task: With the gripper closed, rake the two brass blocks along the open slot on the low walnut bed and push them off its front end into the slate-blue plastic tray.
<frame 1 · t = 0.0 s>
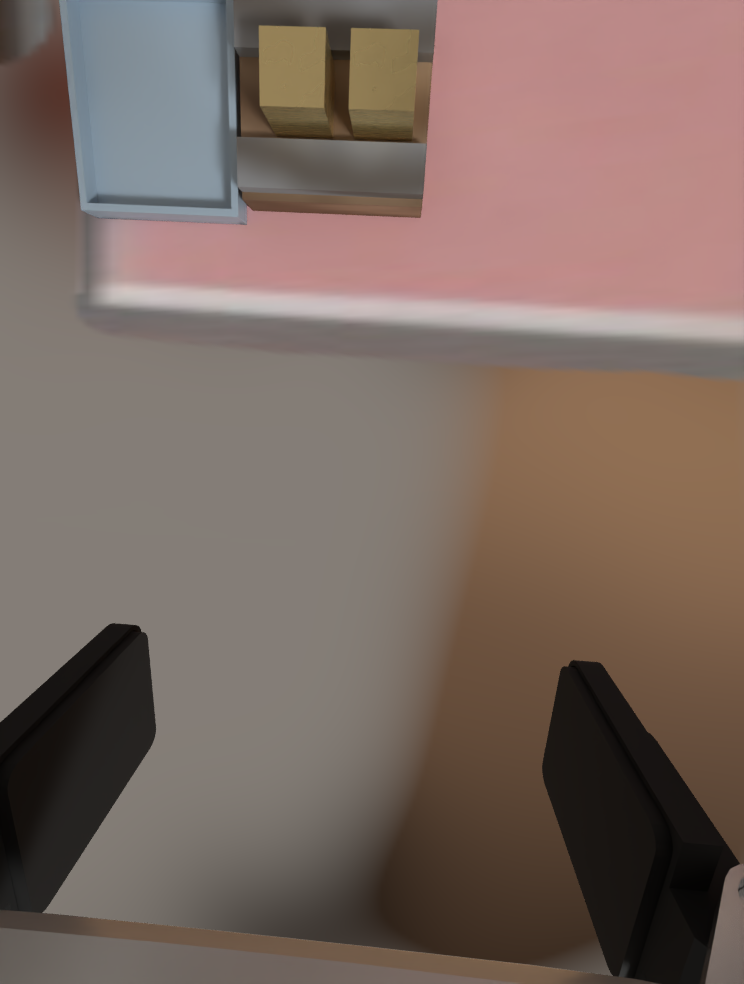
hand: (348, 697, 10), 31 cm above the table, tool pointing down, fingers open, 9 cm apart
slot bed: (338, 122, 34), on the table
tray: (165, 116, 34), on the table
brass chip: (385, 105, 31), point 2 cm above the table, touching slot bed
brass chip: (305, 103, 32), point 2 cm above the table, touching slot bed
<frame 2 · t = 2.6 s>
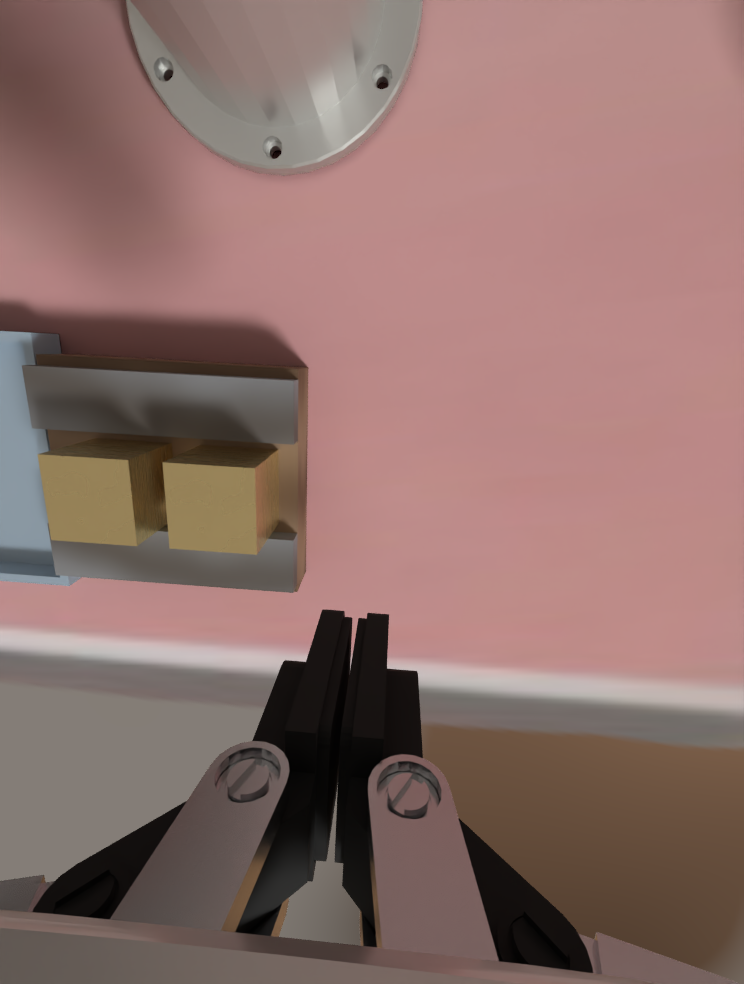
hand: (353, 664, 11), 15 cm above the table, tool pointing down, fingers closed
slot bed: (194, 468, 27), on the table
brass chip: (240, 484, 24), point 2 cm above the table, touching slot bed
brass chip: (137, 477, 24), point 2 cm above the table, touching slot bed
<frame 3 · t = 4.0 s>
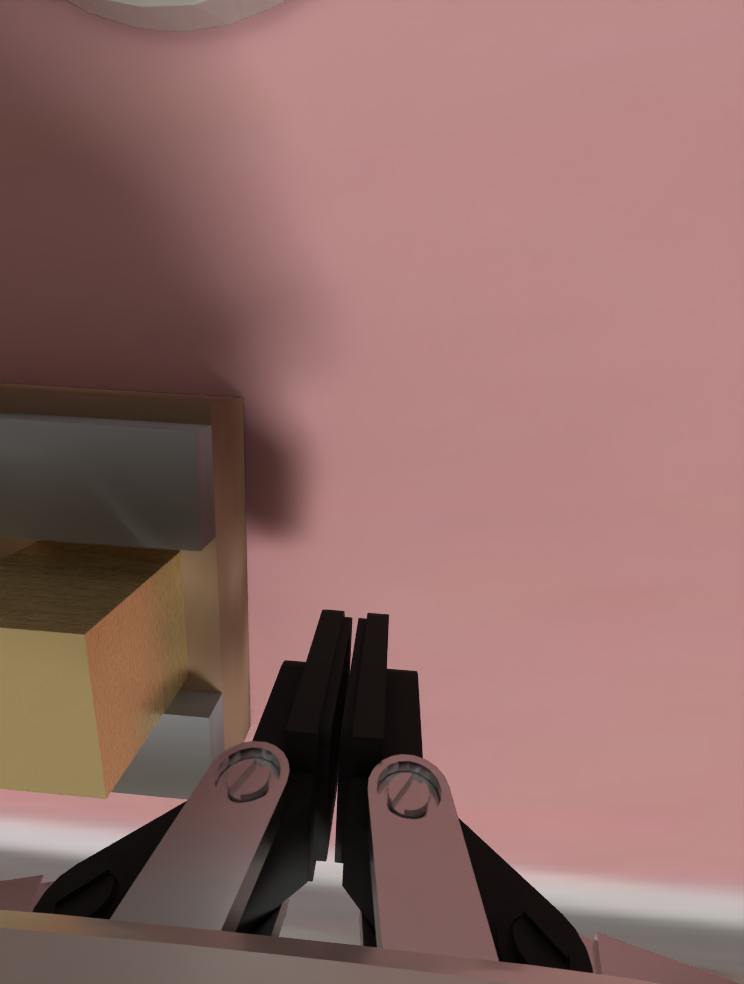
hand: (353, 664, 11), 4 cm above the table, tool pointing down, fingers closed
slot bed: (59, 564, 16), on the table
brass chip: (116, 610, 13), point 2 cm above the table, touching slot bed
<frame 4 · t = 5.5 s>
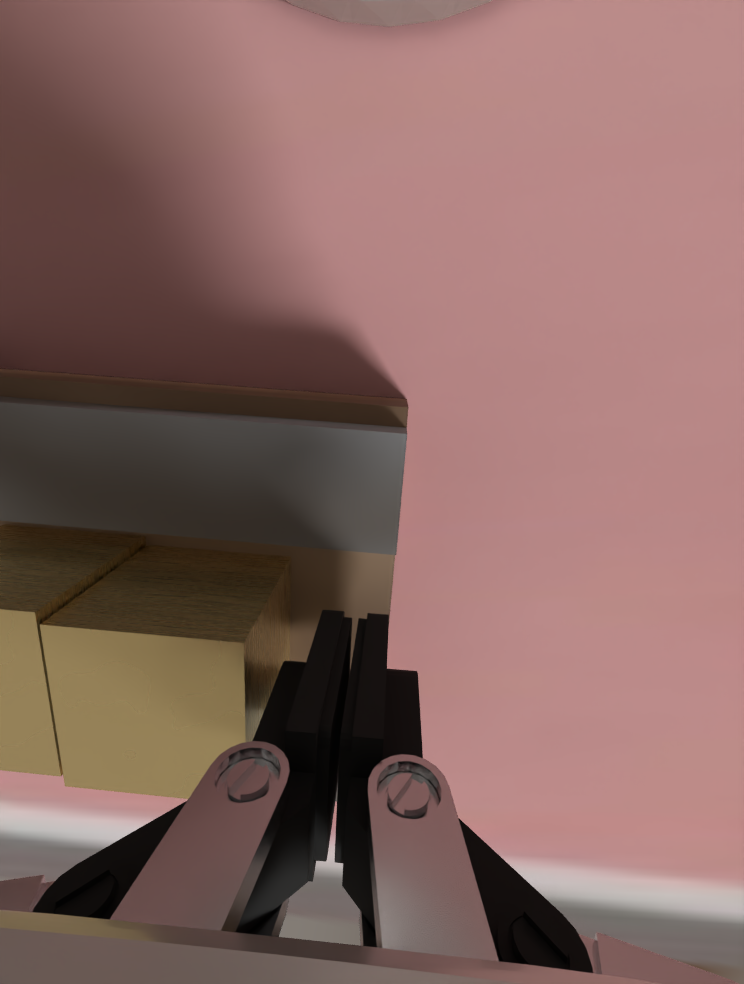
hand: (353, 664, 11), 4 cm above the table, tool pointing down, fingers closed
slot bed: (199, 564, 16), on the table
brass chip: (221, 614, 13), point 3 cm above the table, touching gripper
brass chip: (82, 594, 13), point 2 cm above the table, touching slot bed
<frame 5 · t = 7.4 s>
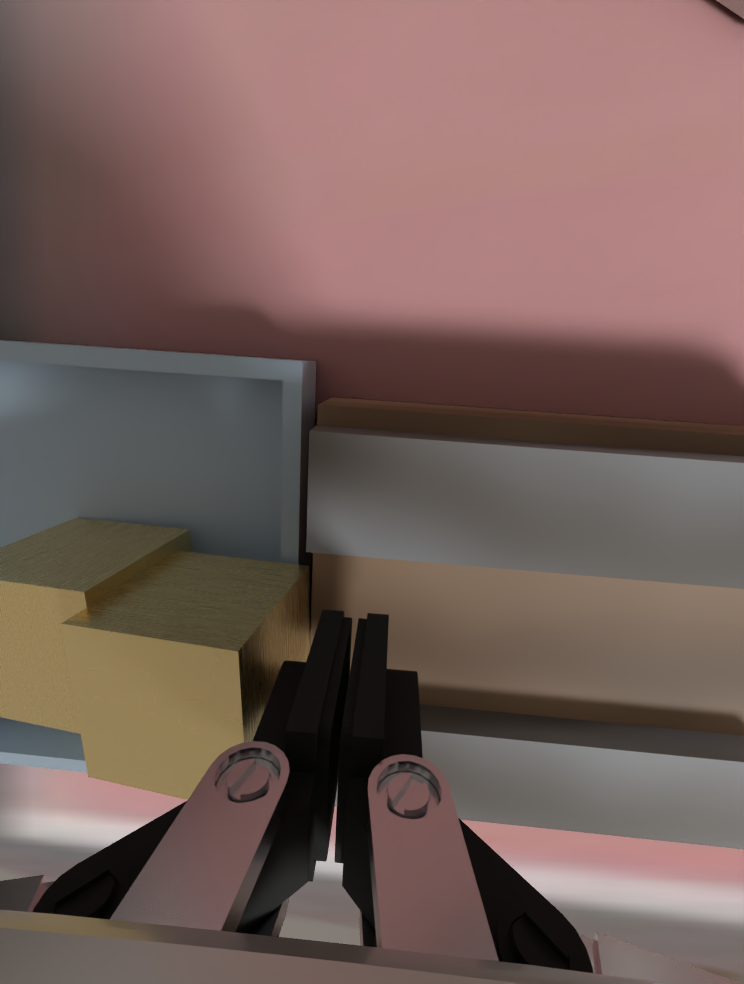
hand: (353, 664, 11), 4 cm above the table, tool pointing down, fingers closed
slot bed: (520, 596, 15), on the table
tray: (135, 562, 16), on the table
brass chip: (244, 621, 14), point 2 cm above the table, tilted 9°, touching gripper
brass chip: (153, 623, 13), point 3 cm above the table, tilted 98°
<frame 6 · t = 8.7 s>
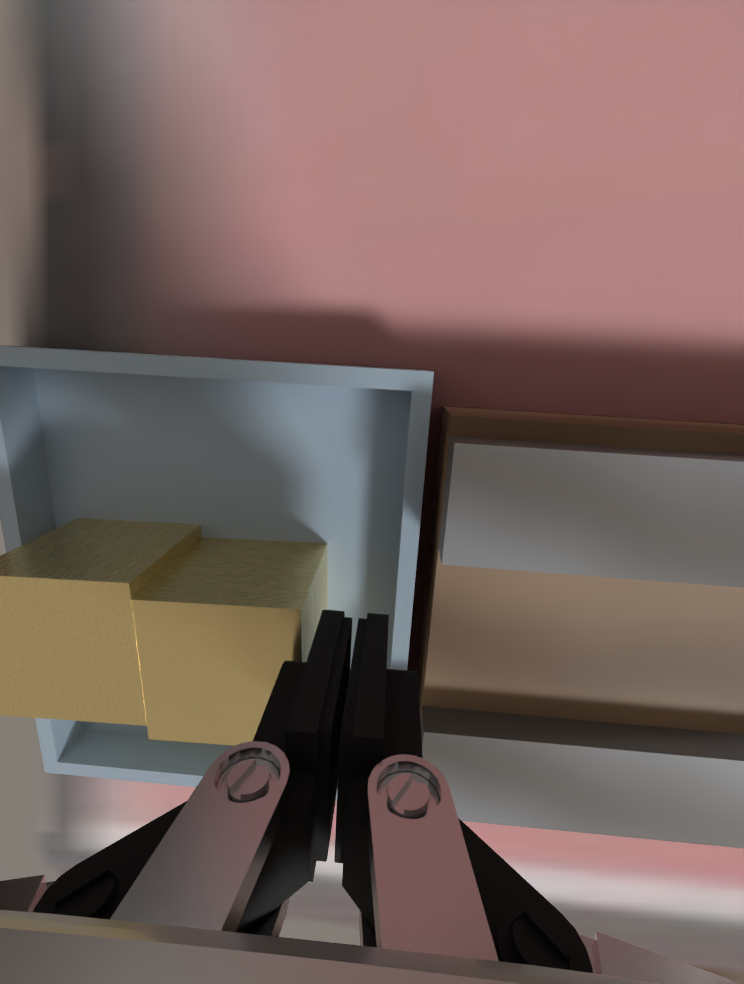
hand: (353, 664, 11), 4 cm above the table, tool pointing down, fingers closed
slot bed: (624, 604, 15), on the table
tray: (232, 573, 16), on the table
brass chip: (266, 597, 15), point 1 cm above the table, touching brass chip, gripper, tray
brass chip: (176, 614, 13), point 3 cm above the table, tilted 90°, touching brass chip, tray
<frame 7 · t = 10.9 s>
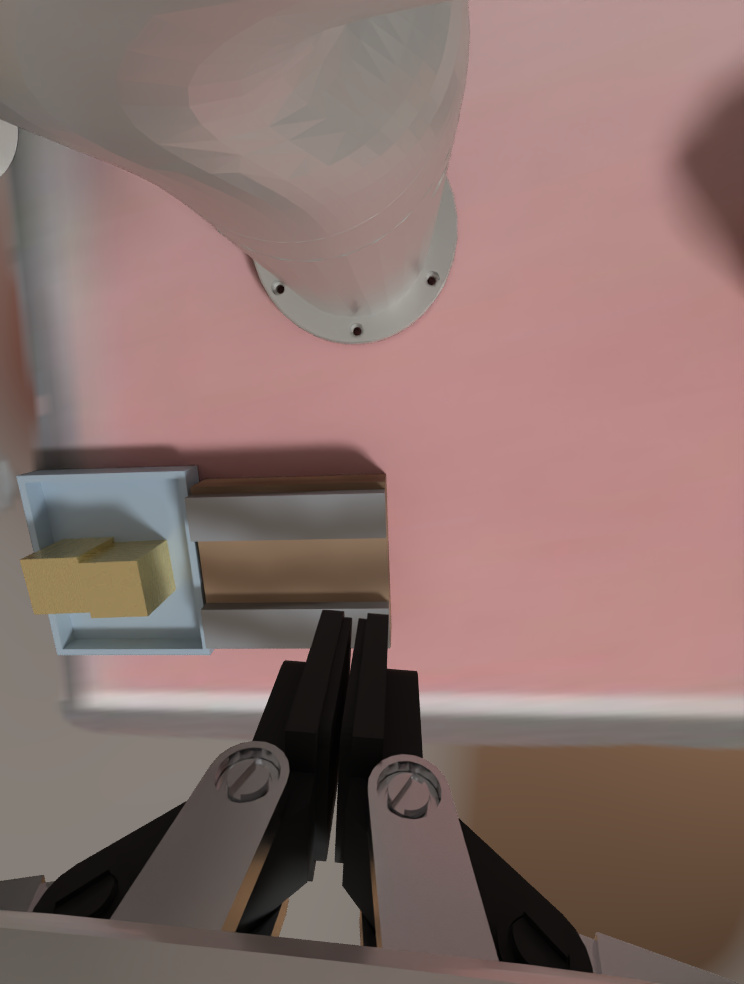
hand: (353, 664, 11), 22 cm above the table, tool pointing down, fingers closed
slot bed: (301, 555, 34), on the table
tray: (132, 558, 35), on the table
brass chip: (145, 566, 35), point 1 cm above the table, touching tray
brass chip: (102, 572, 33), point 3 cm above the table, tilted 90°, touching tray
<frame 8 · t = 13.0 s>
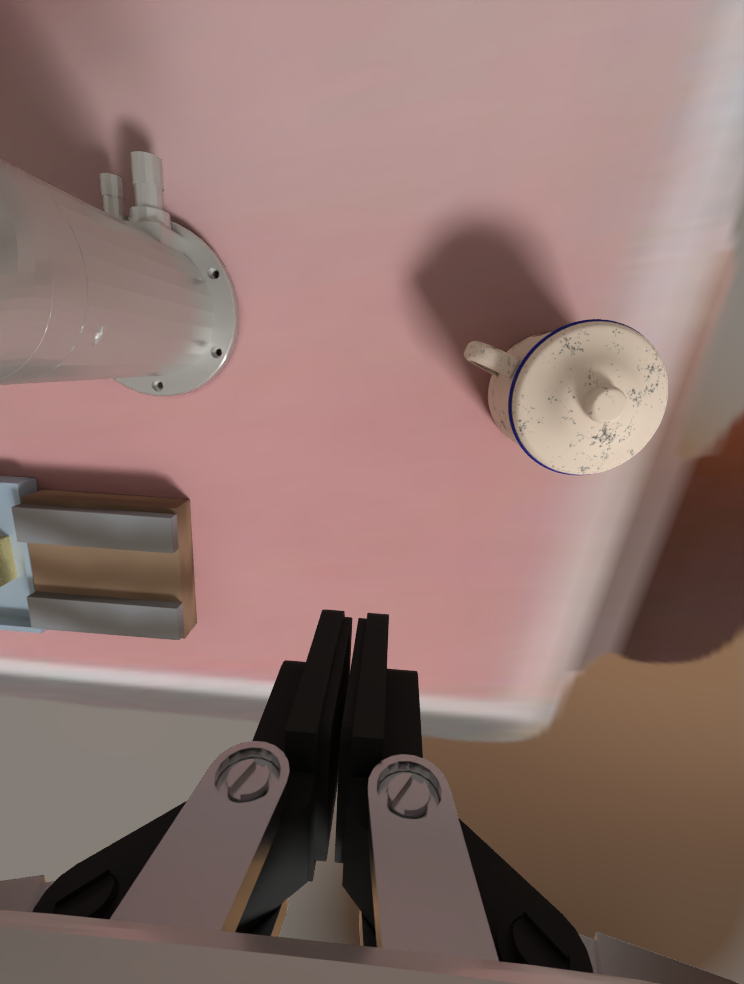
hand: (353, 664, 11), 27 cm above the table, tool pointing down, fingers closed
slot bed: (122, 558, 41), on the table
teacup with lid: (526, 383, 36), on the table
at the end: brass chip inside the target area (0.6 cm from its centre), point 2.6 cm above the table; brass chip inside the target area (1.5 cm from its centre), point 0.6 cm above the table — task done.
